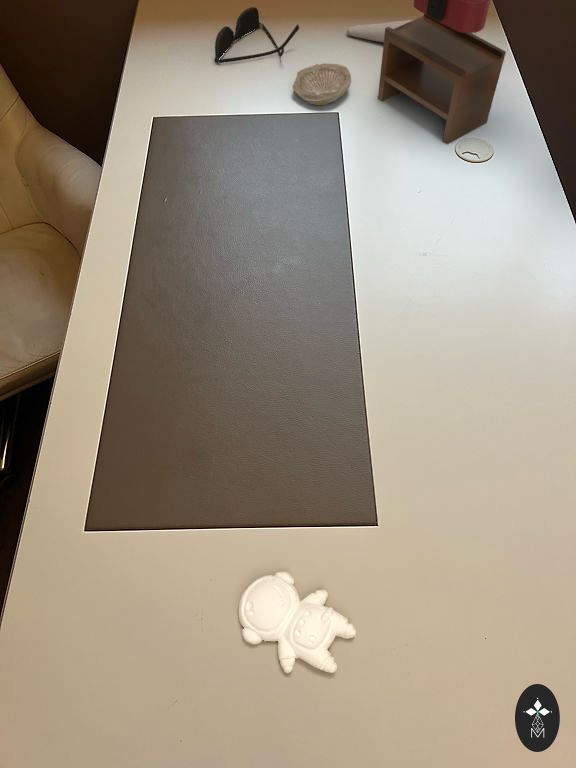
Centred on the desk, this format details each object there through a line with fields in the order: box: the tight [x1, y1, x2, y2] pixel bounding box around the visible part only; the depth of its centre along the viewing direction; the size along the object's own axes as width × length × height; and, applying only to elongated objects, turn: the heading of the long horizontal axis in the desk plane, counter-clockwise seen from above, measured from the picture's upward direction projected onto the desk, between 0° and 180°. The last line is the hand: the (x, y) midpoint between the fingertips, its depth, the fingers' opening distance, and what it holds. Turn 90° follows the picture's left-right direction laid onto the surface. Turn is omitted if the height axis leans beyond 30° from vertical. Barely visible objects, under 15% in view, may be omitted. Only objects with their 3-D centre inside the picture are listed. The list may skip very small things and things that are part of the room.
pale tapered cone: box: [346, 19, 477, 44], centre depth 124 cm, size 8×9×26 cm
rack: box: [377, 13, 507, 145], centre depth 109 cm, size 10×18×13 cm, turn 37°
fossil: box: [292, 63, 352, 106], centre depth 117 cm, size 10×12×3 cm
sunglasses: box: [213, 6, 300, 64], centre depth 124 cm, size 17×14×5 cm
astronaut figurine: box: [238, 571, 357, 674], centre depth 63 cm, size 9×12×3 cm
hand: (449, 9), depth 100 cm, fingers closed on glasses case, 5 cm apart
